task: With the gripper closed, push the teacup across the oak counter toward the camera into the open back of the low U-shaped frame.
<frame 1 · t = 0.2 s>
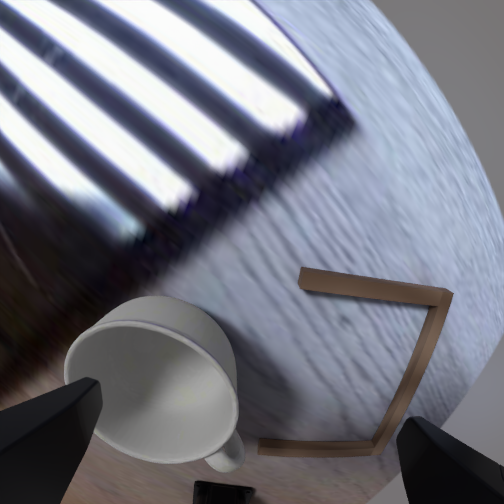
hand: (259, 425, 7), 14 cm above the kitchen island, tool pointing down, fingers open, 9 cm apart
teacup: (184, 358, 23), on the kitchen island
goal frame: (325, 378, 23), on the kitchen island
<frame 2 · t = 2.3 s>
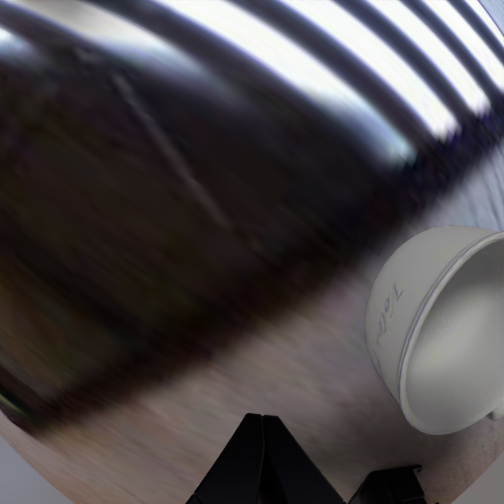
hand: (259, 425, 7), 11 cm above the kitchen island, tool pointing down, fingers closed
teacup: (427, 311, 19), on the kitchen island
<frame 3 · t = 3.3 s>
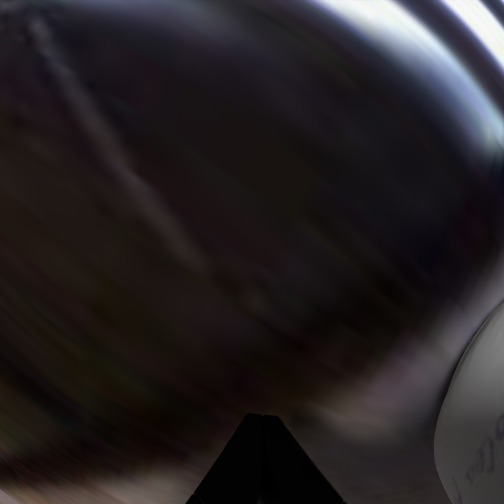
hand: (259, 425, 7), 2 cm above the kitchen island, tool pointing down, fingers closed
teacup: (502, 376, 10), on the kitchen island
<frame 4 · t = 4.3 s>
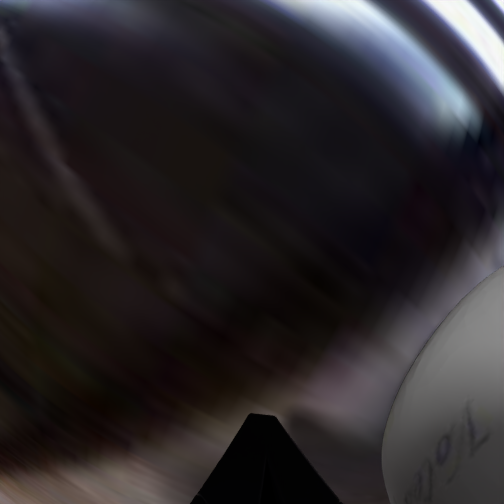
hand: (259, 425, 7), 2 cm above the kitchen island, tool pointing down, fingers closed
teacup: (476, 383, 10), on the kitchen island, touching gripper
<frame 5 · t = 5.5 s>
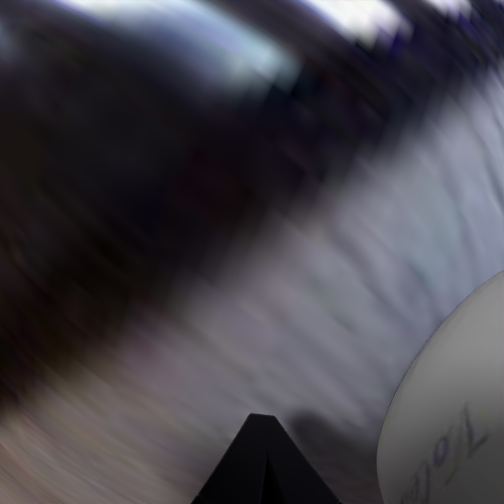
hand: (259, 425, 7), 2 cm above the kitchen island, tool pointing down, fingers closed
teacup: (471, 389, 10), on the kitchen island, touching gripper
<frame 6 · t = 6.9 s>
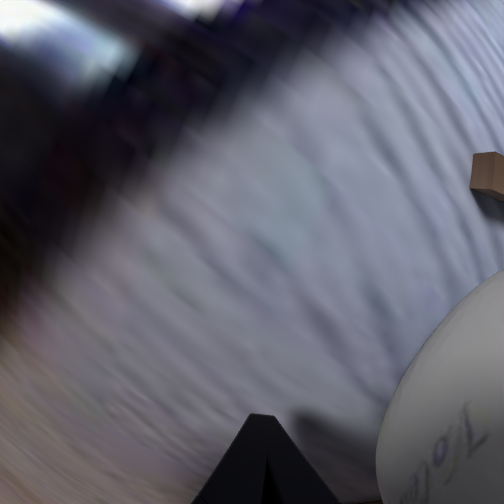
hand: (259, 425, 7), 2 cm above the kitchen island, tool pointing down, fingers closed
teacup: (469, 388, 10), on the kitchen island, touching gripper
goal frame: (476, 391, 10), on the kitchen island
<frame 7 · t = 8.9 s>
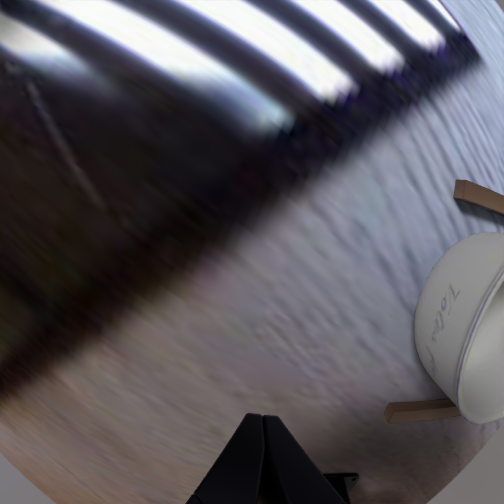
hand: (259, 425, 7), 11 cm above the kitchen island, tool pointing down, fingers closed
teacup: (461, 312, 19), on the kitchen island
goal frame: (466, 315, 18), on the kitchen island
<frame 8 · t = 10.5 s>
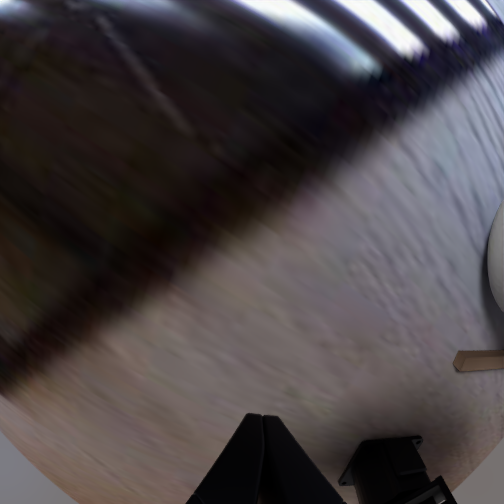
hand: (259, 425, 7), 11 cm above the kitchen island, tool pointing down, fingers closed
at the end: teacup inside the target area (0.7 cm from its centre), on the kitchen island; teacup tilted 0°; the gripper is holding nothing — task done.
